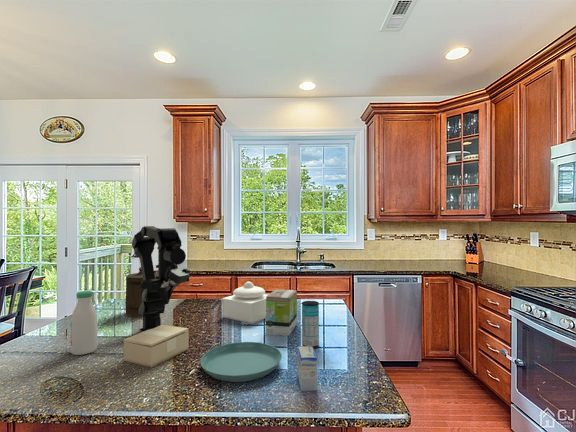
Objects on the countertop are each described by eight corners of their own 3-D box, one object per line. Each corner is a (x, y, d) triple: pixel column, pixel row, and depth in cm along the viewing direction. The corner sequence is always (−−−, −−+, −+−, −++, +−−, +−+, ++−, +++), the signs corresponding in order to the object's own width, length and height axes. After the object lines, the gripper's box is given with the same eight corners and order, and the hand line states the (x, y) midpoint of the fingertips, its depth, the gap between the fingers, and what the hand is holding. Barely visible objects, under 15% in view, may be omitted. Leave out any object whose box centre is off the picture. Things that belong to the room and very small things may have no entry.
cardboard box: (123, 360, 106) (123, 341, 106) (162, 343, 120) (162, 326, 120) (152, 367, 100) (152, 347, 101) (188, 349, 115) (188, 331, 115)
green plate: (207, 352, 112) (207, 342, 113) (279, 350, 114) (279, 340, 114) (192, 388, 88) (192, 376, 88) (284, 385, 90) (284, 372, 90)
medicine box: (297, 377, 94) (297, 346, 94) (313, 376, 94) (312, 345, 94) (300, 391, 86) (300, 357, 86) (317, 391, 87) (317, 357, 87)
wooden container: (151, 316, 154) (151, 268, 154) (119, 316, 154) (119, 268, 154) (163, 308, 169) (163, 264, 169) (134, 308, 169) (134, 264, 169)
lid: (123, 341, 106) (123, 339, 106) (162, 326, 120) (162, 324, 120) (151, 346, 101) (151, 343, 101) (188, 330, 115) (188, 327, 115)
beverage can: (320, 343, 120) (320, 301, 120) (317, 349, 114) (317, 305, 114) (304, 341, 121) (303, 300, 121) (300, 347, 116) (300, 304, 116)
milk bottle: (102, 348, 116) (102, 290, 116) (82, 357, 109) (82, 295, 109) (86, 345, 118) (86, 288, 119) (65, 354, 111) (65, 293, 111)
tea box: (290, 336, 127) (290, 297, 127) (264, 334, 129) (264, 296, 129) (297, 324, 142) (297, 289, 142) (274, 322, 144) (274, 288, 144)
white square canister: (276, 314, 158) (276, 280, 158) (251, 324, 143) (251, 286, 143) (247, 309, 168) (247, 277, 168) (221, 317, 153) (221, 282, 153)
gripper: (163, 266, 113) (163, 312, 113) (200, 260, 130) (200, 300, 130) (139, 264, 118) (139, 309, 117) (178, 259, 135) (178, 298, 134)
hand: (166, 304), depth 125 cm, fingers closed
